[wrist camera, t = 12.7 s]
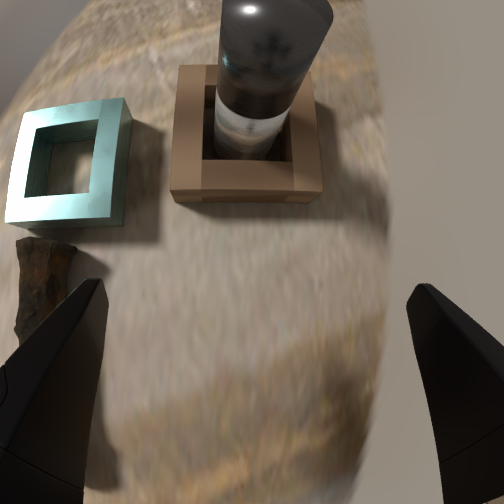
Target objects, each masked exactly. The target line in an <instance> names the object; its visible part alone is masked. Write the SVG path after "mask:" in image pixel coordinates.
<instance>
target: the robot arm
mask: <svg viewBox="0 0 504 504" xmlns="http://www.w3.org/2000/svg"><path fill="white" fill-rule="evenodd" d="M108 308H109V302H108V297H107V294H106V291H105V287H104V284H103V281H102V280H101V279H99V278H87V279H85V280H84V281H83V282H82V283H81V284H80V285H79V286H78V287H77V288H76V289H75V290H74V291H73V292H72V293H71V294H70V295H68V296H67V297H66V298H65V299H64V300H63V301H62V302H61V303H60V304H59V305H58V306H57V307H56V308H55V309H54V310H53V311H52V312H51V313H50V314H49V316H48V317H47V318H46V319H45V320H44V321H43V322H42V323H41V324H40V325H39V326H38V327H37V328H36V329H35V330H34V331H33V332H32V333H31V334H30V335H29V336H28V338H27V339H26V340H25V341H24V342H23V343H22V344H21V345H20V346H19V347H18V348H17V350H16V351H15V352H14V353H13V354H12V355H11V356H10V357H9V358H8V360H7V361H6V362H5V365H2V366H1V367H0V504H83V497H84V491H83V490H84V480H85V469H86V459H87V450H88V442H89V434H90V427H91V420H92V414H93V407H94V401H95V396H96V390H97V385H98V379H99V374H100V369H101V364H102V358H103V351H104V341H105V332H106V324H107V316H108ZM406 309H407V314H408V319H409V324H410V329H411V334H412V340H413V345H414V350H415V354H416V358H417V362H418V366H419V369H420V373H421V377H422V381H423V385H424V389H425V394H426V397H427V402H428V407H429V412H430V416H431V421H432V426H433V431H434V437H435V442H436V448H437V454H438V460H439V468H440V475H441V483H442V492H443V501H444V504H483V503H486V504H504V346H503V345H502V344H500V343H499V342H498V341H497V340H496V339H495V338H494V337H493V336H492V335H491V334H490V333H488V332H487V331H486V330H485V329H484V328H483V327H482V326H480V325H479V324H478V323H477V322H476V321H475V320H473V319H472V318H471V317H470V316H469V315H468V314H466V313H465V312H464V311H463V310H462V309H460V308H459V307H458V306H457V305H456V304H454V303H453V302H452V301H451V300H450V299H448V298H447V297H446V296H445V295H443V294H442V293H441V292H440V291H438V290H437V289H436V288H435V287H434V286H432V285H431V284H428V283H422V284H418V285H417V286H416V287H415V289H414V291H413V292H412V294H411V296H410V298H409V299H408V301H407V305H406Z"/></svg>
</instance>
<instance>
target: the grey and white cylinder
mask: <svg viewBox="0 0 504 504" xmlns="http://www.w3.org/2000/svg"><path fill="white" fill-rule="evenodd" d="M332 22H333V10H332V8H331V6H330V4H329V2H328V1H327V0H223V3H222V15H221V27H220V39H219V53H218V68H217V84H216V102H215V122H214V147H215V150H216V152H217V154H218V156H219V157H220V158H221V159H222V160H255V161H263V160H264V159H265V158H266V156H267V155H268V153H269V151H270V149H271V146H272V144H273V142H274V140H275V138H276V136H277V134H278V132H279V130H280V128H281V125H282V123H283V121H284V119H285V117H286V115H287V113H288V111H289V109H290V107H291V105H292V103H293V101H294V99H295V96H296V94H297V92H298V90H299V88H300V86H301V84H302V82H303V80H304V78H305V76H306V74H307V72H308V70H309V68H310V66H311V64H312V62H313V60H314V58H315V56H316V54H317V52H318V50H319V48H320V46H321V44H322V42H323V40H324V38H325V36H326V34H327V32H328V30H329V28H330V26H331V24H332Z"/></svg>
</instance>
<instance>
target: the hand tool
mask: <svg viewBox="0 0 504 504" xmlns="http://www.w3.org/2000/svg"><path fill="white" fill-rule="evenodd" d="M16 248H17V257H18V260H19V266H20V278H19V308H18V312H17V317H16V326H15V327H14V331H15V333H16V335H17V337H18V338H19V346H20V345H21V344H22V343H23V342H24V341H25V340H26V339H27V338H28V336H29V335H30V334H31V333H32V332H33V331H34V330H35V329H36V328H37V327H38V326H39V325H40V324H41V323H42V322H43V321H44V320H45V319H46V318H47V317H48V316H49V314H50V313H51V312H52V311H53V310H54V309H55V308H56V307H57V306H58V305H59V304H60V303H61V302H62V301H63V300H64V299H65V298H66V292H67V274H68V267H69V263H70V260H71V258H72V256H73V255H74V254H75V253H76V252H77V251H78V249H77V248H76V247H75V246H71V245H69V244H67V243H63V242H60V241H58V240H54V239H47V238H35V237H30V236H29V237H26V238H23V239H21V240H17V241H16Z"/></svg>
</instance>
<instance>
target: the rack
mask: <svg viewBox="0 0 504 504" xmlns="http://www.w3.org/2000/svg"><path fill="white" fill-rule="evenodd" d="M217 68H218V65H179V74H178V83H177V92H176V102H175V113H174V125H173V138H172V153H171V170H170V192H171V194H172V196H173V199H174V201H175V202H281V203H310V202H311V201H312V200H313V199H315V198H316V197H317V196H319V195H320V194H321V193H322V192H323V181H322V169H321V157H320V147H319V137H318V127H317V118H316V109H315V101H314V93H313V86H312V78H311V72H309V71H308V72H307V74H306V76H305V78H304V80H303V82H302V84H301V86H300V88H299V90H298V92H297V94H296V96H295V99H294V101H293V103H292V105H291V107H290V109H289V111H288V113H287V115H286V117H285V119H284V121H283V123H282V125H281V128H280V145H281V161H255V160H203V144H204V118H205V108H215V102H216V84H217Z"/></svg>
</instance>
